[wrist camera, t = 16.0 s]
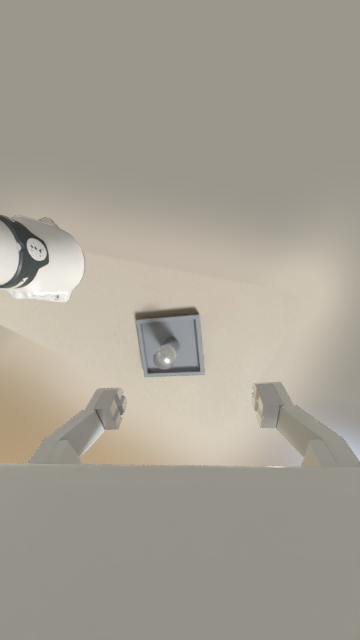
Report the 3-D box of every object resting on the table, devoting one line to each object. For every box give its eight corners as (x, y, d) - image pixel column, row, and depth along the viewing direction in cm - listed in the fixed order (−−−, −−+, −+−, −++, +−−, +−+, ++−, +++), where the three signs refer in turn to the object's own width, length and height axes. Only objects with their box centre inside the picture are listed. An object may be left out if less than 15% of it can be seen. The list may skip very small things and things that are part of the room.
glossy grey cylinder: (163, 354, 44) (154, 369, 36) (161, 338, 43) (151, 350, 36) (180, 353, 43) (174, 369, 36) (178, 337, 43) (172, 348, 35)
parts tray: (146, 373, 46) (144, 377, 44) (138, 319, 44) (136, 320, 42) (204, 371, 44) (204, 374, 42) (199, 313, 42) (198, 315, 40)
